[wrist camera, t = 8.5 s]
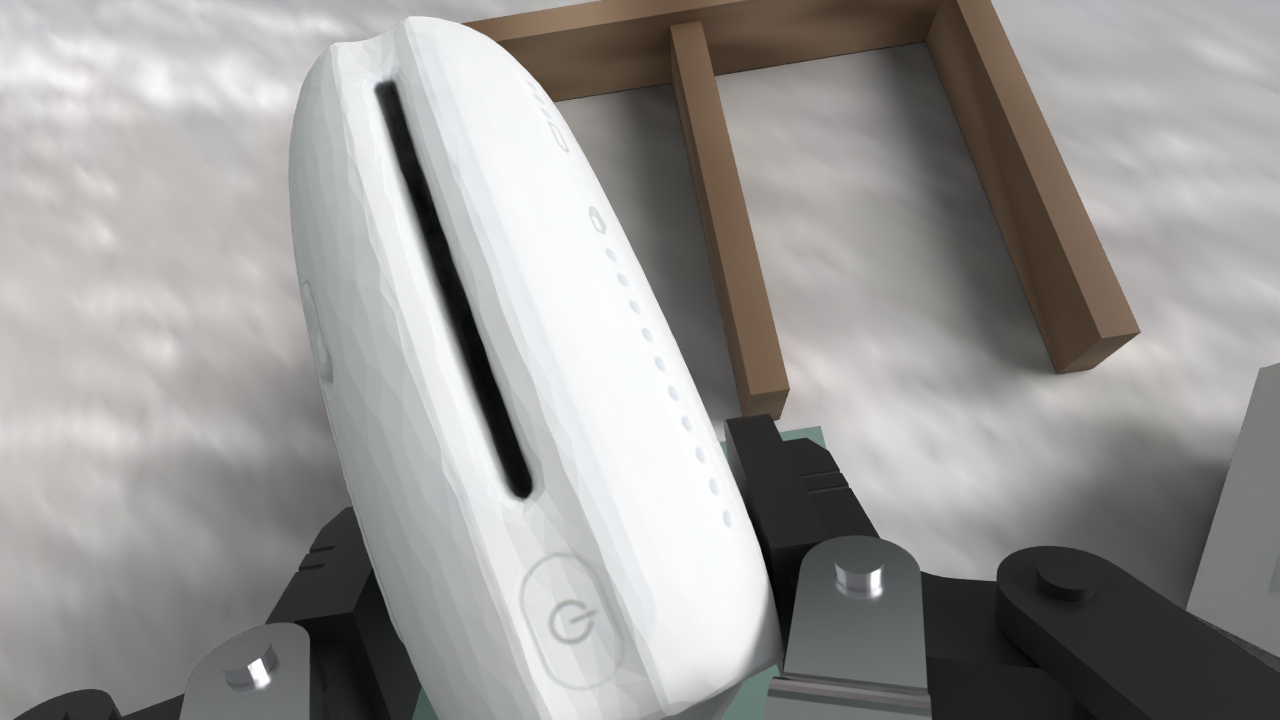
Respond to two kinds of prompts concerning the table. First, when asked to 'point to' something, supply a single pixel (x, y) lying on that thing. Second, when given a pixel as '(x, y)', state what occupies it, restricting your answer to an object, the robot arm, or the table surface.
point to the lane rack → (816, 28)
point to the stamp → (1247, 530)
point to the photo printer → (512, 398)
